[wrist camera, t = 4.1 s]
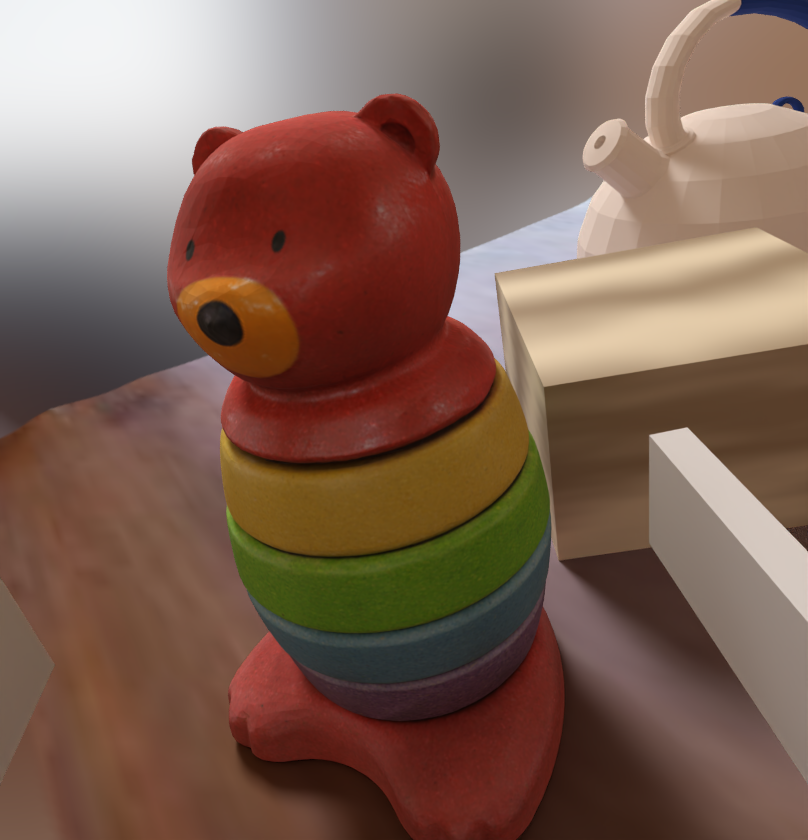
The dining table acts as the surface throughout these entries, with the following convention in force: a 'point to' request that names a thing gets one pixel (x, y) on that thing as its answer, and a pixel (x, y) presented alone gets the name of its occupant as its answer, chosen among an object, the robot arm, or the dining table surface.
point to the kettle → (700, 157)
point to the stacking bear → (372, 471)
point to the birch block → (660, 375)
